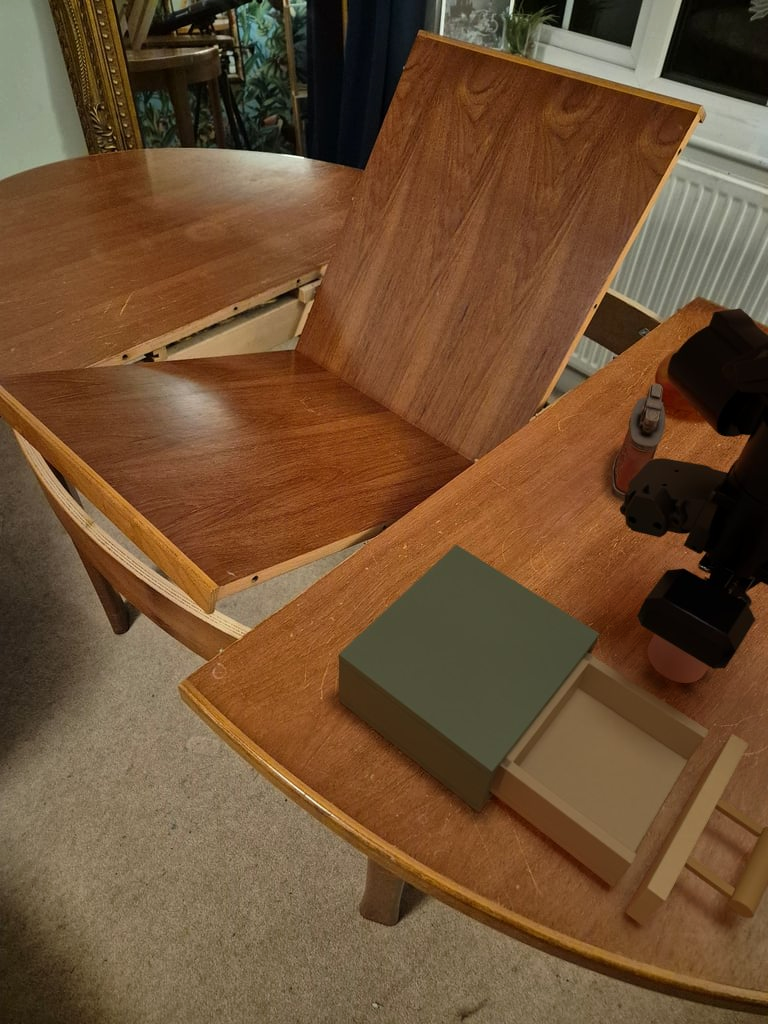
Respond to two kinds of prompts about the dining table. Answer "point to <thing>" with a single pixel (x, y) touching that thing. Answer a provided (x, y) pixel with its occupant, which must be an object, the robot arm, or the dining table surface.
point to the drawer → (624, 785)
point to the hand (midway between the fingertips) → (696, 626)
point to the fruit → (670, 387)
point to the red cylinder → (674, 661)
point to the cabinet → (461, 670)
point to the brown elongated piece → (639, 440)
